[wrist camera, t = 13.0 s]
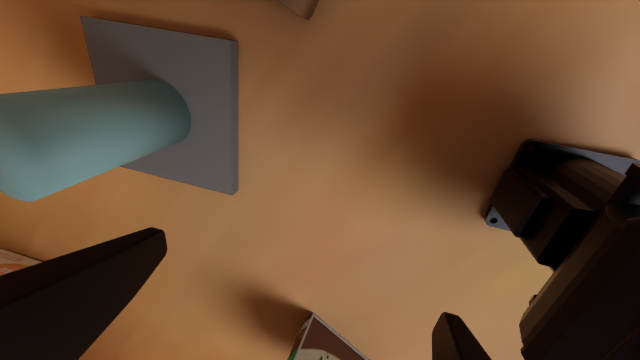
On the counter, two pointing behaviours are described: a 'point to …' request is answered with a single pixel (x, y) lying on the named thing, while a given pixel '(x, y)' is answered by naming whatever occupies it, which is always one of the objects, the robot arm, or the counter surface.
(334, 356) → the food container
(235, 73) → the mat
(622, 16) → the counter surface
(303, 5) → the bar
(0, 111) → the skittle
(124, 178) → the counter surface
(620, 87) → the counter surface
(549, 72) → the counter surface
